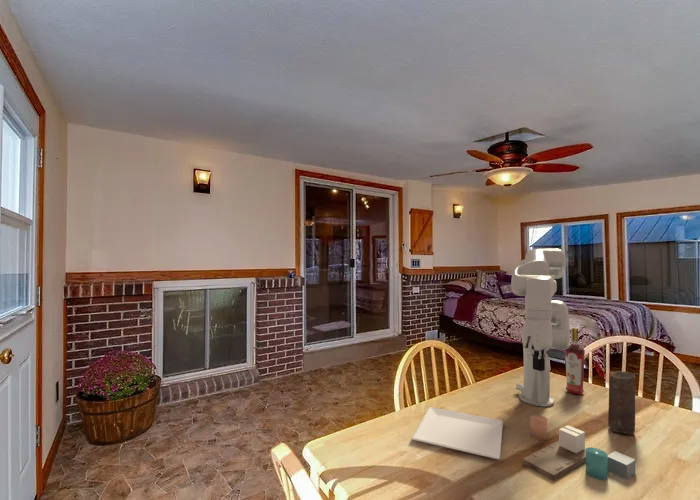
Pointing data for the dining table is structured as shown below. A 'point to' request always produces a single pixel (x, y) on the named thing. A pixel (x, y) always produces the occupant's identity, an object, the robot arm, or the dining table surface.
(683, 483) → the dining table surface
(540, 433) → the peach domed cylinder
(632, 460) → the slate box
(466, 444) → the plate
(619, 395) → the candle
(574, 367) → the liquor
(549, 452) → the rail
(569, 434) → the slider
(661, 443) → the dining table surface
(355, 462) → the dining table surface
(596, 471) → the teal rounded cylinder
